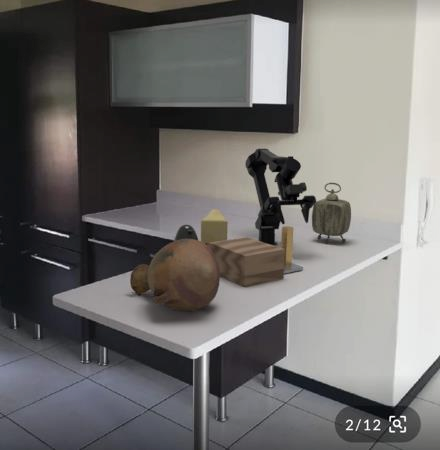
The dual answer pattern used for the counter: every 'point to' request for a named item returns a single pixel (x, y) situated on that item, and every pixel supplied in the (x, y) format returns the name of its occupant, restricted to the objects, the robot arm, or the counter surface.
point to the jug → (180, 275)
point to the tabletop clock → (331, 215)
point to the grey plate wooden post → (288, 250)
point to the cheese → (213, 227)
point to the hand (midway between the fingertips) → (295, 223)
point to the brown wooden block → (249, 261)
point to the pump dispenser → (186, 233)
